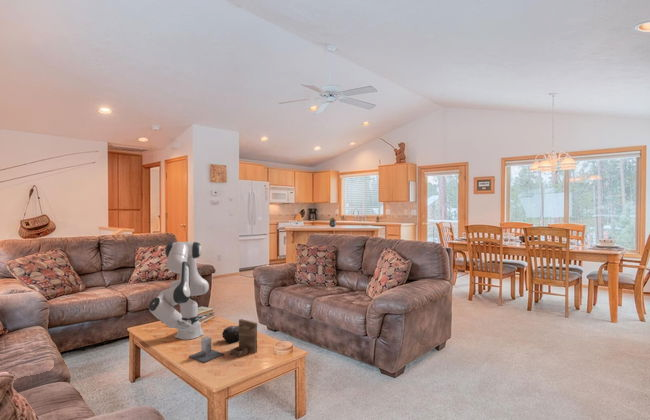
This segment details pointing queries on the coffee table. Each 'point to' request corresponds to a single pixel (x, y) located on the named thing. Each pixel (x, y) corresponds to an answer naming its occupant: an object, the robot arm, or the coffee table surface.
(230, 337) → the dark porous rock
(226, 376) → the coffee table surface
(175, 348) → the coffee table surface
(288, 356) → the coffee table surface
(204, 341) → the light gray square block
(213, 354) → the rubber mat
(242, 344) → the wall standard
